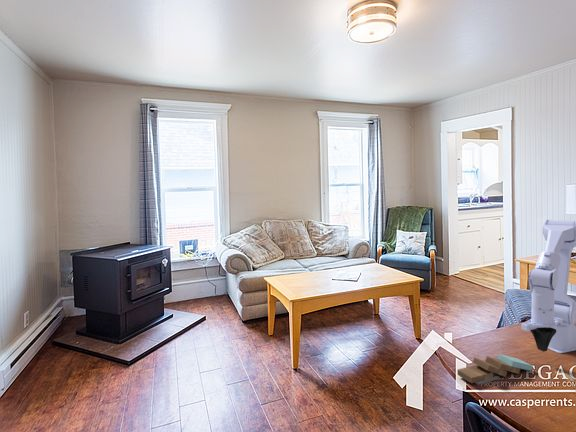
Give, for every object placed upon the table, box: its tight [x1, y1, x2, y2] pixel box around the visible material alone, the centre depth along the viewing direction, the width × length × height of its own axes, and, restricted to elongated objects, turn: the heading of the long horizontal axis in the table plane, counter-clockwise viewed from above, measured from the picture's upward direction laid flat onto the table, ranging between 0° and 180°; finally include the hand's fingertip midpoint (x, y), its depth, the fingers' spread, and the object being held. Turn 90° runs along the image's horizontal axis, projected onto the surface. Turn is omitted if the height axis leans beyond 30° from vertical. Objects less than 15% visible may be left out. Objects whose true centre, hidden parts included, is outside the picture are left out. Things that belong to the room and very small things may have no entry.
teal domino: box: [496, 353, 533, 372], centre depth 105 cm, size 2×5×8 cm
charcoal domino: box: [474, 373, 500, 386], centre depth 101 cm, size 2×5×8 cm
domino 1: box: [457, 364, 494, 384], centre depth 100 cm, size 2×5×8 cm
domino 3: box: [485, 355, 521, 375], centre depth 103 cm, size 2×5×8 cm
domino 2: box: [472, 357, 508, 378], centre depth 102 cm, size 2×5×8 cm
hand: (542, 349), depth 108 cm, fingers closed
